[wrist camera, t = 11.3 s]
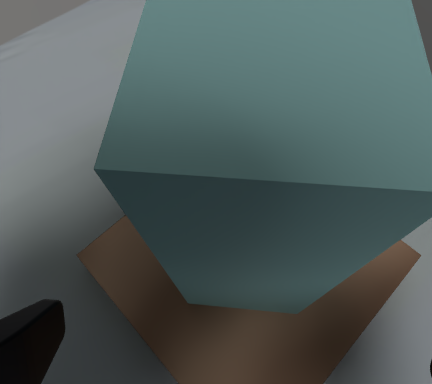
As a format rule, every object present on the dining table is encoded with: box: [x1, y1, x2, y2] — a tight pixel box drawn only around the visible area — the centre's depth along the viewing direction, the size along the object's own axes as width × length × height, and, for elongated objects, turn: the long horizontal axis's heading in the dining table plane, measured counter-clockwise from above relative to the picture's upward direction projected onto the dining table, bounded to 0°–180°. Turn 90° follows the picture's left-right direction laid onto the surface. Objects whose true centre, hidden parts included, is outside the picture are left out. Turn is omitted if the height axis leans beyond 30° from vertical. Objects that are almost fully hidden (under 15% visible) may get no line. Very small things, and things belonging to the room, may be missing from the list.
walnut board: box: [77, 215, 421, 384], centre depth 17 cm, size 12×12×2 cm
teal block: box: [94, 0, 432, 314], centre depth 11 cm, size 5×5×12 cm
